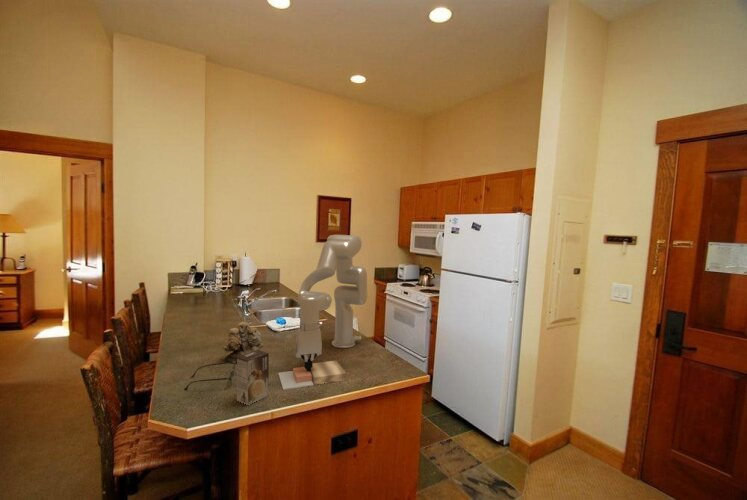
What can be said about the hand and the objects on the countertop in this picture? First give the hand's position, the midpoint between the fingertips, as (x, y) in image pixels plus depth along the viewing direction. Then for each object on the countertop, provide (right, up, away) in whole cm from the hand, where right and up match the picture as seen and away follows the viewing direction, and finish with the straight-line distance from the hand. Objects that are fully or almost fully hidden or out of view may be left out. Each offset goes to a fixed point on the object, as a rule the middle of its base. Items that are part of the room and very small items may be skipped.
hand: (308, 369), depth 138 cm
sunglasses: (-37, -3, -5) cm, 38 cm away
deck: (+7, -4, +3) cm, 8 cm away
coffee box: (-17, -4, -17) cm, 24 cm away
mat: (-5, -4, -2) cm, 6 cm away
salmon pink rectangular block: (-2, -2, -1) cm, 3 cm away
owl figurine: (-34, -2, +19) cm, 39 cm away
